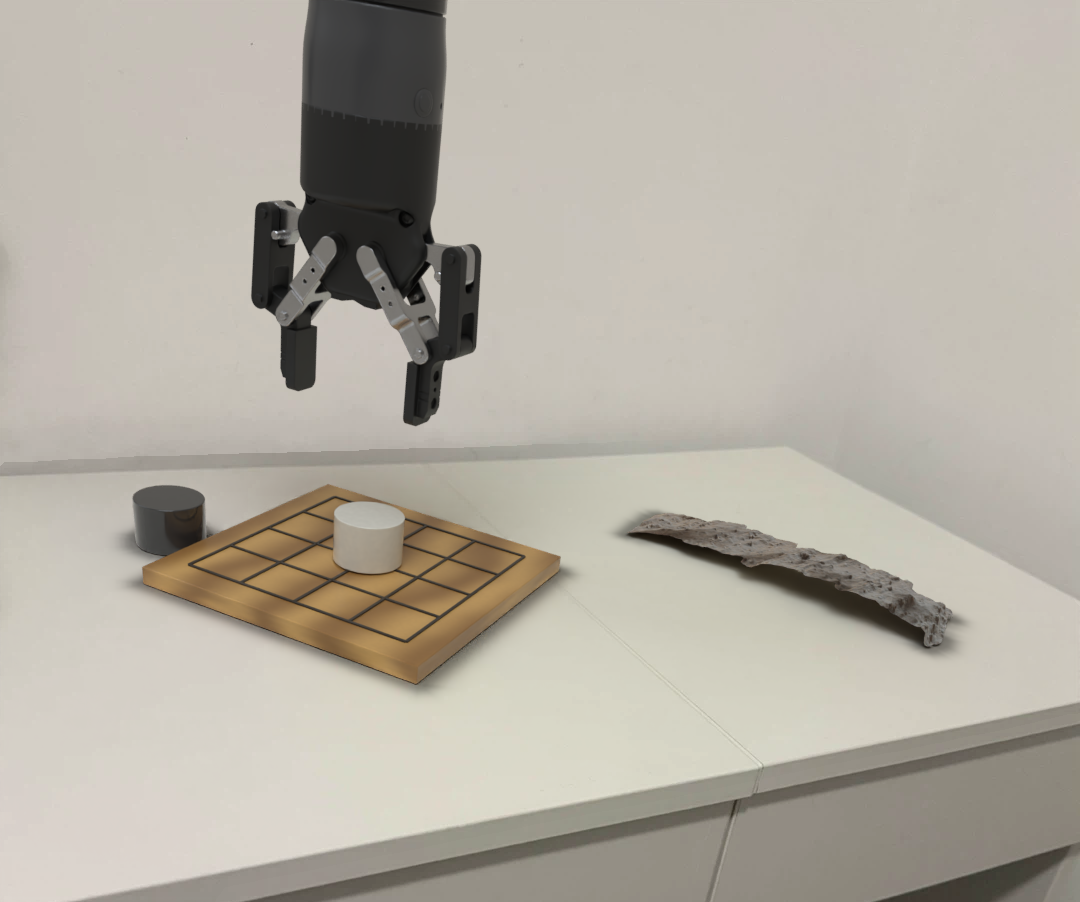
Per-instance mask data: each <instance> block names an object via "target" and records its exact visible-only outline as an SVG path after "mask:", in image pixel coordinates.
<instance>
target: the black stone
mask: <svg viewBox="0 0 1080 902" xmlns="http://www.w3.org/2000/svg"><path fill="white" fill-rule="evenodd" d="M131 499H132V512H133V513H132V514H133V525H134V536H135V537H134V538H135V544H136V546H137V547H138V548H139V549H141V550H142V551H144V552H147V553H150V554H153V555H159V556H168V555H170V554H172V553H174V552H177V551H179V550H181V549H183V548H186V547H188V546H190V545H192V544H195V543H197V542H199V541H201V540H204V539H206V538H208V537H207V536H208V535H207V512H206V510H207V509H206V497H205V495H204V494H203V493H202V492H200V491H198V490H197V489H194V488H190V487H187V486H183V485H173V484H168V485H167V484H162V485H161V484H159V485H151V486H147V487H144V488H141V489H139V490H137V491H135V492H134V493H133V495H132V497H131Z"/></svg>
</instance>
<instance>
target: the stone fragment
mask: <svg viewBox="0 0 1080 902" xmlns="http://www.w3.org/2000/svg"><path fill="white" fill-rule="evenodd" d="M631 533H643V534H644V533H647V534H653V535H662V536H670V537H671V538H675V539H678V540H682V542H683V543H685V544H689V545H692V546H698V547H701V548H704V547H705V548H709V549H711V550H714V551H717V552H718V553H720V554H722V555H723V554H725V555H730V556H737V557H741V558H742V559H741V561H740V563H741V564H742V565H744V566H746V567H747V568H748V567H749V568H753V567H756V566H760V565H773V566H780V567H784V568H787V569H791V570H795V571H797V572H798V573H802V575H803V576H804V577H808V578H815V579H819V580H822V581H827V582H830V583H835V584H834V588H835V589H836V590H838V591H841V592H843V591H845V592H851V593H854V594H856V595H857V594H858V595H859V596H861V597H863V598H866V599H869V600H873V601H876V603H878V605H879V606H880V607H883V608H885V609H887V610H888V612H889V613H890V614H892V615H895V616H897V618H899V619H901V620H904V621H905V622H907V623H908V624H910V625H912V626H914V627H917V628H921V629H922V631H923V632H924V636H923V645H924V646H925V647H926V648H927V647H929V648H932V647H933V646H938V645H940V644H942V642H943V641H944V640H943V639H944V635H945V631H946V628H947V623H948V618H949V619H951V616H952V618H953V615H954V614H953V610H952V609H950V608H948V607H947V606H946V604H945V603H944V602H942V601H935V600H934V599H932V598H930V597H927V596H925V595H923V594H921V593H918V592H917V591H915V590H914V589H913V587H914V583H913V582H912V581H910V580H908V579H902V578H900V577H899V576H896V575H894V574H891V573H889V572H888V571H885V570H883V569H876V568H870V566H869V565H867V564H866V563H862V562H861V561H859V560H857V559H854V558H852V557H848V556H847V554H845V553H827V552H821V551H820V550H817V549H816V548H813V547H798V545H799V543H796V542H794V541H791V540H790V541H789V540H785V539H781V538H780V539H779V538H777V537H774V536H773V535H771V534H767V533H763V532H761V531H760V530H758V529H751V528H748V526H747V525H746V524H744V523H738V522H737V523H736V522H731V521H724V520H719V519H718V520H717V519H715V520H714V519H713V520H711V521H710V520H709V521H707V520H704V519H702V518H698V517H694V516H691V515H686V514H681V513H673V512H664V513H657V514H654V515H652V516H651V517H649V518H646V519H644V520H642V522H641V523H640V524H639V525H638V526H634V527H633V528H632V529H630V530H629V531H627V532H626V534H631Z"/></svg>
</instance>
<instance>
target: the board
mask: <svg viewBox="0 0 1080 902" xmlns="http://www.w3.org/2000/svg"><path fill="white" fill-rule="evenodd" d="M351 502H376V503H382V504H386V505H389V506H392V507H394V508H396V509H398V510H400V511H401V512H402V513H403V514H404V516H405V527H404V542H403V557H402V564H401V566H400V567H399V568H397V569H395V570H393V571H391V572H387V573H380V574H365V573H358V572H353V571H349V570H347V569H344V568H342V567H340V566H339V565H337V564H336V563H335V561H334V560H333V532H334V511H335V509H336V508H337V507H339V506H341V505H343V504H346V503H351ZM561 558H562V557H561V555H558V554H554V553H551V552H547V551H544V550H541V549H538V548H534V547H532V546H529V545H525V544H522V543H519V542H516V541H512V540H509V539H506V538H502V537H499V536H496V535H493V534H490V533H487V532H483V531H480V530H477V529H474V528H471V527H467V526H464V525H461V524H458V523H456V522H455V523H454V522H452V521H448V520H446V519H442V518H438V517H435V516H433V515H429V514H426V513H423V512H420V511H416V510H414V509H410V508H406V507H403V506H400V505H397V504H394V503H390V502H387V501H384V500H381V499H378V498H375V497H371V496H368V495H365V494H362V493H359V492H355V491H353V490H349V489H346V488H342V487H339V486H337V485H333V484H329V483H327V484H325V485H323V486H321V487H318V488H316V489H314V490H311V491H310V492H307V493H305V494H303V495H300V496H298V497H296V498H293V499H291V500H289V501H287V502H284V503H282V504H280V505H278V506H276V507H273V508H270V509H268V510H267V511H264V512H261V513H260V514H258V515H255V516H253V517H251V518H248V519H247V520H244V521H241V522H240V523H237V524H235V525H233V526H231V527H228V528H226V529H223V530H222V531H219V532H217V533H215V534H213V535H211V536H208V537H207V538H206V539H204V540H201V541H199V542H197V543H195V544H192V545H190V546H188V547H186V548H183V549H181V550H179V551H177V552H174V553H172V554H170V555H168V556H167V555H164V556H163V557H161V558H159V559H157V560H155V561H152V562H150V563H147V564H145V565H142V566H141V570H142V583H143V584H144V585H146V586H149V587H151V588H154V589H157V590H160V591H162V592H165V593H168V594H170V595H173V596H175V597H179V598H181V599H184V600H186V601H190V602H192V603H195V604H198V605H200V606H203V607H206V608H208V609H211V610H214V611H216V612H219V613H222V614H224V615H227V616H230V617H232V618H235V619H239V620H241V621H244V622H246V623H249V624H252V625H255V626H257V627H260V628H263V629H266V630H268V631H271V632H272V633H276V634H279V635H282V636H285V637H287V638H290V639H292V640H295V641H298V642H300V643H303V644H307V645H309V646H311V647H315V648H316V649H320V650H322V651H324V652H328V653H331V654H333V655H336V656H339V657H342V658H344V659H347V660H349V661H352V662H355V663H358V664H359V665H360V664H361V665H363V666H366V667H369V668H371V669H374V670H376V671H380V672H382V673H385V674H388V675H391V676H393V677H395V678H399V679H401V680H403V681H405V682H409V683H412V684H415V685H417V684H419V683H420V682H421V681H422V680H423V679H425V678H426V677H428V675H430V674H431V673H432V672H434V670H436V669H437V668H438V667H440V666H441V665H442V664H444V663H445V662H446V661H448V659H450V658H451V657H453V656H454V655H455V654H456V653H458V651H460V650H462V649H463V648H464V647H465V646H466V645H468V644H469V643H470V642H471V641H473V640H474V639H475V638H476V637H478V636H479V635H480V634H481V633H483V632H484V631H485V630H487V629H488V628H489V627H490V626H491V625H493V624H494V623H495V622H496V621H498V620H499V619H501V618H502V617H503V616H504V615H506V613H508V612H509V611H511V610H512V609H513V608H514V607H515V606H516V605H518V604H519V603H520V602H522V601H523V600H524V599H525V598H527V597H528V596H529V595H531V594H532V593H533V592H534V591H536V590H537V589H538V588H539V587H541V586H542V585H543V584H544V583H546V582H547V581H548V580H549V579H551V578H552V577H553V576H555V575H556V574H557V573H558V572H559V571H560V565H561V560H562V559H561Z"/></svg>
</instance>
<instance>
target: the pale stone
mask: <svg viewBox="0 0 1080 902" xmlns="http://www.w3.org/2000/svg"><path fill="white" fill-rule="evenodd" d="M404 527H405V516H404V514H403V513H402V512H401V511H400V510H398V509H396V508H394V507H392V506H389V505H386V504H382V503H376V502H351V503H346V504H343V505H341V506H339V507H337V508H336V509H335V511H334V532H333V560H334V561H335V563H336V564H337V565H339V566H340V567H342V568H344V569H347V570H349V571H353V572H358V573H365V574H380V573H387V572H391V571H393V570H395V569H397V568H399V567H400V566H401V564H402V557H403V542H404Z"/></svg>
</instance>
